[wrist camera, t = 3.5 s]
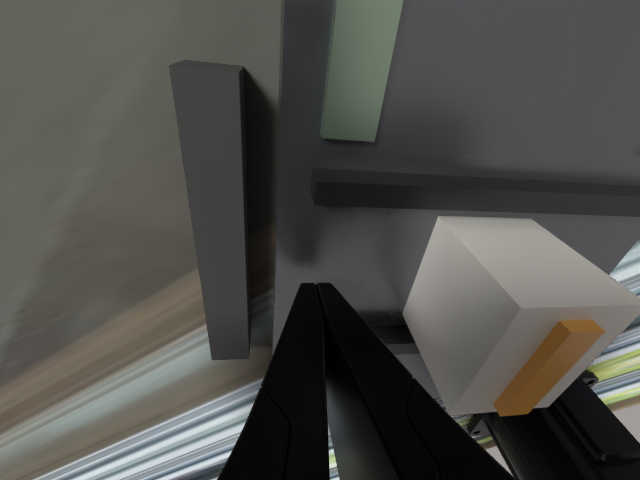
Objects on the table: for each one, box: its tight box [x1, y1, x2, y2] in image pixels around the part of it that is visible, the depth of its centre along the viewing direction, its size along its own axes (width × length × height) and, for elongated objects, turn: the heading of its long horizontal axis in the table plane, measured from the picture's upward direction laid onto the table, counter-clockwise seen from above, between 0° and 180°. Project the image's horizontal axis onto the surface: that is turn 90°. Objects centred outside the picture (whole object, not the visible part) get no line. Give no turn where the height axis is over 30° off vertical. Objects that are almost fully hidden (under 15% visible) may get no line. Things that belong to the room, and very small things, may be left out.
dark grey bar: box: [169, 60, 251, 360], centre depth 10 cm, size 10×1×1 cm, turn 174°
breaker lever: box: [402, 216, 640, 417], centre depth 8 cm, size 4×3×4 cm
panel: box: [271, 0, 640, 399], centre depth 10 cm, size 16×12×3 cm
